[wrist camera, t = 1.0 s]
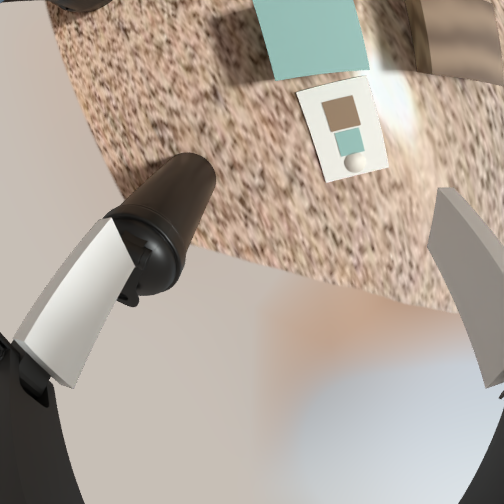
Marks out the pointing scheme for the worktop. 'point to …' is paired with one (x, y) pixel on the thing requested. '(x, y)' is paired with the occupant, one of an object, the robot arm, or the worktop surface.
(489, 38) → the walnut base
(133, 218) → the water bottle
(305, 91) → the page
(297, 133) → the worktop surface
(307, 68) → the teal brick
